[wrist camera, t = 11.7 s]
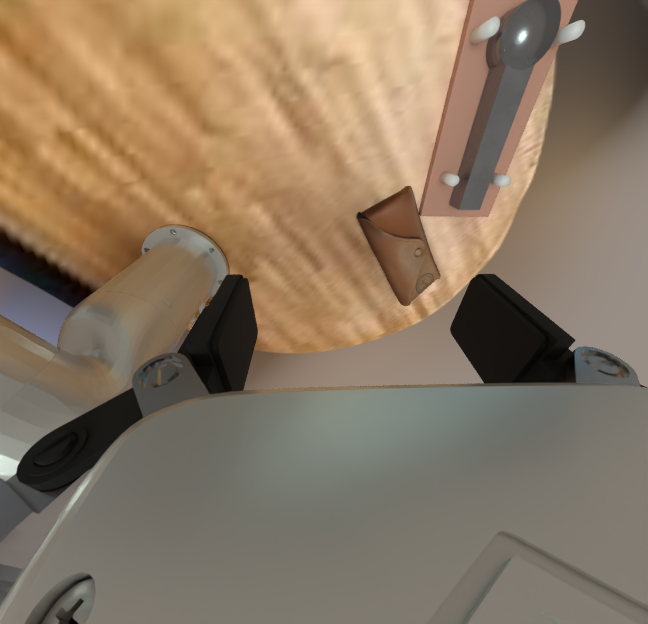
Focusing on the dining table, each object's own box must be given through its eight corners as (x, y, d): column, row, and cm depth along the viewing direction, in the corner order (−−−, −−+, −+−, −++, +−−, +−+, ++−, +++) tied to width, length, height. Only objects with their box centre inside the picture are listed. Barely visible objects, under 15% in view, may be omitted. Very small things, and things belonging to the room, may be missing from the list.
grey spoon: (475, 204, 34) (487, 210, 32) (441, 204, 34) (451, 210, 32) (546, 6, 24) (572, -7, 21) (498, 5, 23) (519, -9, 21)
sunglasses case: (444, 278, 43) (439, 306, 39) (405, 284, 47) (397, 309, 44) (410, 180, 33) (398, 205, 30) (365, 199, 38) (350, 222, 34)
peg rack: (484, 214, 36) (500, 223, 33) (418, 214, 36) (428, 222, 33) (581, -28, 23) (625, -53, 20) (478, -34, 23) (505, -60, 19)
